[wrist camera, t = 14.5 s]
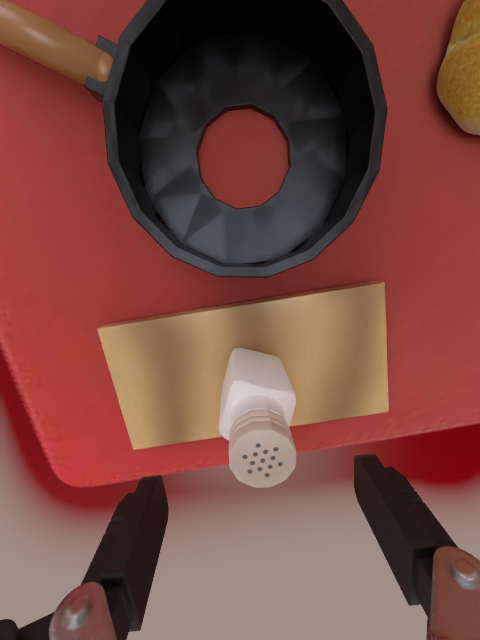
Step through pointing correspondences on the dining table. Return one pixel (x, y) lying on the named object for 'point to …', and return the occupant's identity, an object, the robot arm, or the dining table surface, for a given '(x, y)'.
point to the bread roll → (463, 70)
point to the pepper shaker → (258, 418)
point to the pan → (213, 100)
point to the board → (258, 335)
